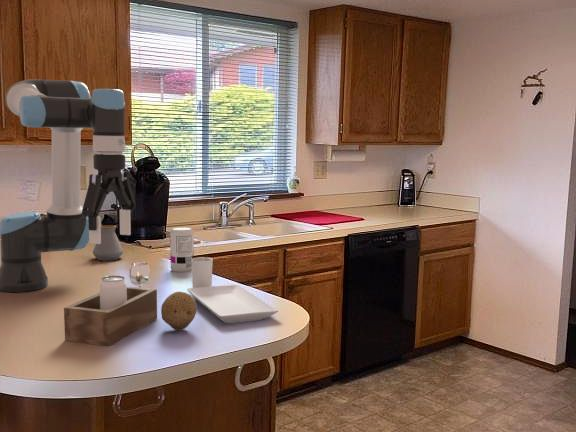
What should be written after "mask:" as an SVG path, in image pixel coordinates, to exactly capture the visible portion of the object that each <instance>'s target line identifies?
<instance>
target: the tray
mask: <svg viewBox="0 0 576 432" xmlns="http://www.w3.org/2000/svg"><path fill="white" fill-rule="evenodd" d="M186 290H187V292H188V293H190V294H189V295H191V296H192V297H193V298H194V299H196V301H198V302H199V303H200V304H202V305H203V306H204V307H205V308H206V309H207V310H209V311H210V312H211V313H212V314H213V315H215V316H216V317H217V318H218V319H220V320H221V321H222V322H224V323H225V324H235V323H242V322H244V323H245V322H253V321H261V320H264V319H265V318H270V317H271V316H273V315H275V314H277V313H278V312H279V310H278V309H277V308H276V307H275V306H273V305H270V304H269V303H267V302H266V301H265V300H263V299H261V298H260V297H258V296H257V295H255V294H254V293H252V292H250V291H249V290H248V289H246V288H245V287H243V286H241V285H239V284H228V285H215V286H213V285H212V286H211V287H199V288H193V287H188V288H187V289H186Z"/></svg>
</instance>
